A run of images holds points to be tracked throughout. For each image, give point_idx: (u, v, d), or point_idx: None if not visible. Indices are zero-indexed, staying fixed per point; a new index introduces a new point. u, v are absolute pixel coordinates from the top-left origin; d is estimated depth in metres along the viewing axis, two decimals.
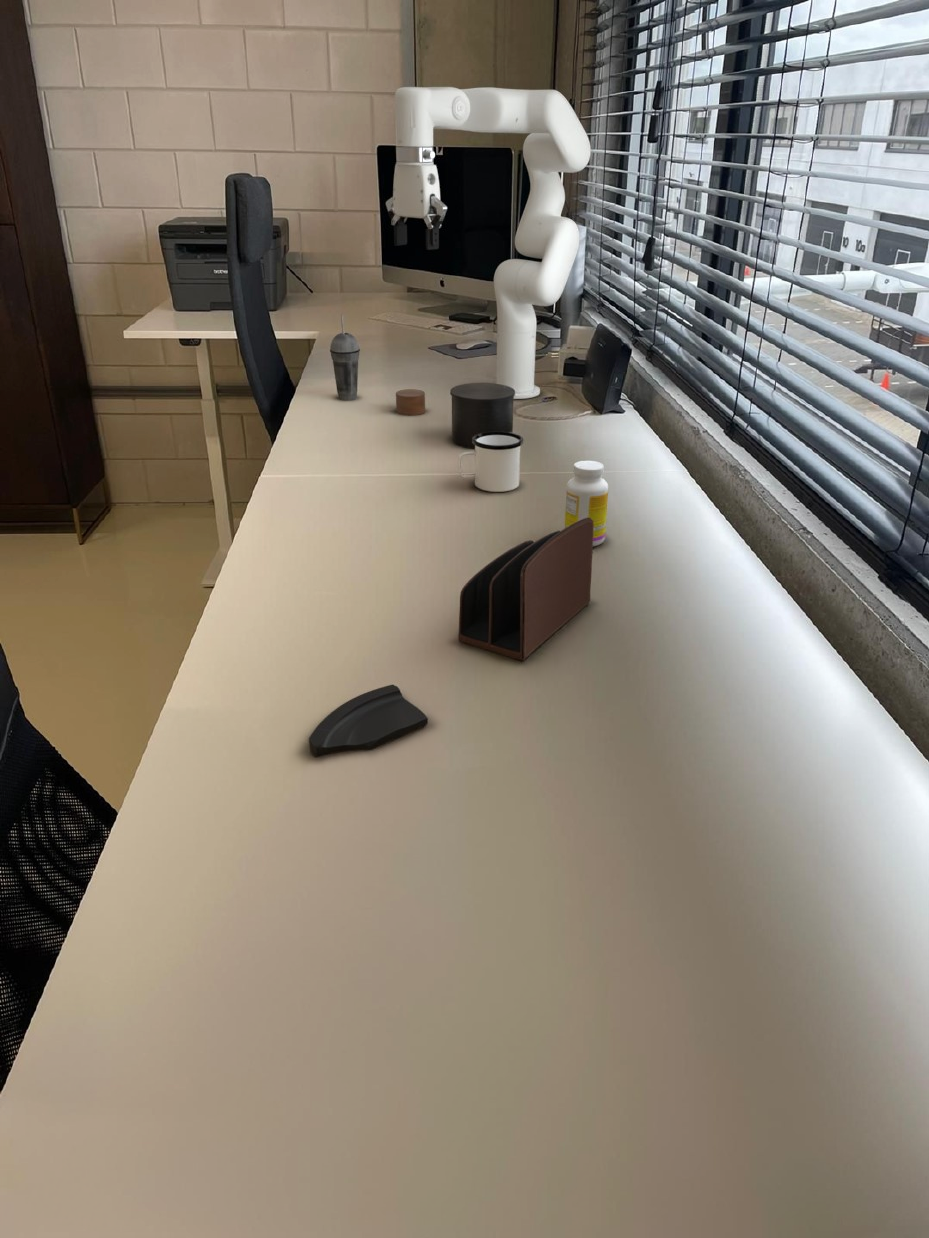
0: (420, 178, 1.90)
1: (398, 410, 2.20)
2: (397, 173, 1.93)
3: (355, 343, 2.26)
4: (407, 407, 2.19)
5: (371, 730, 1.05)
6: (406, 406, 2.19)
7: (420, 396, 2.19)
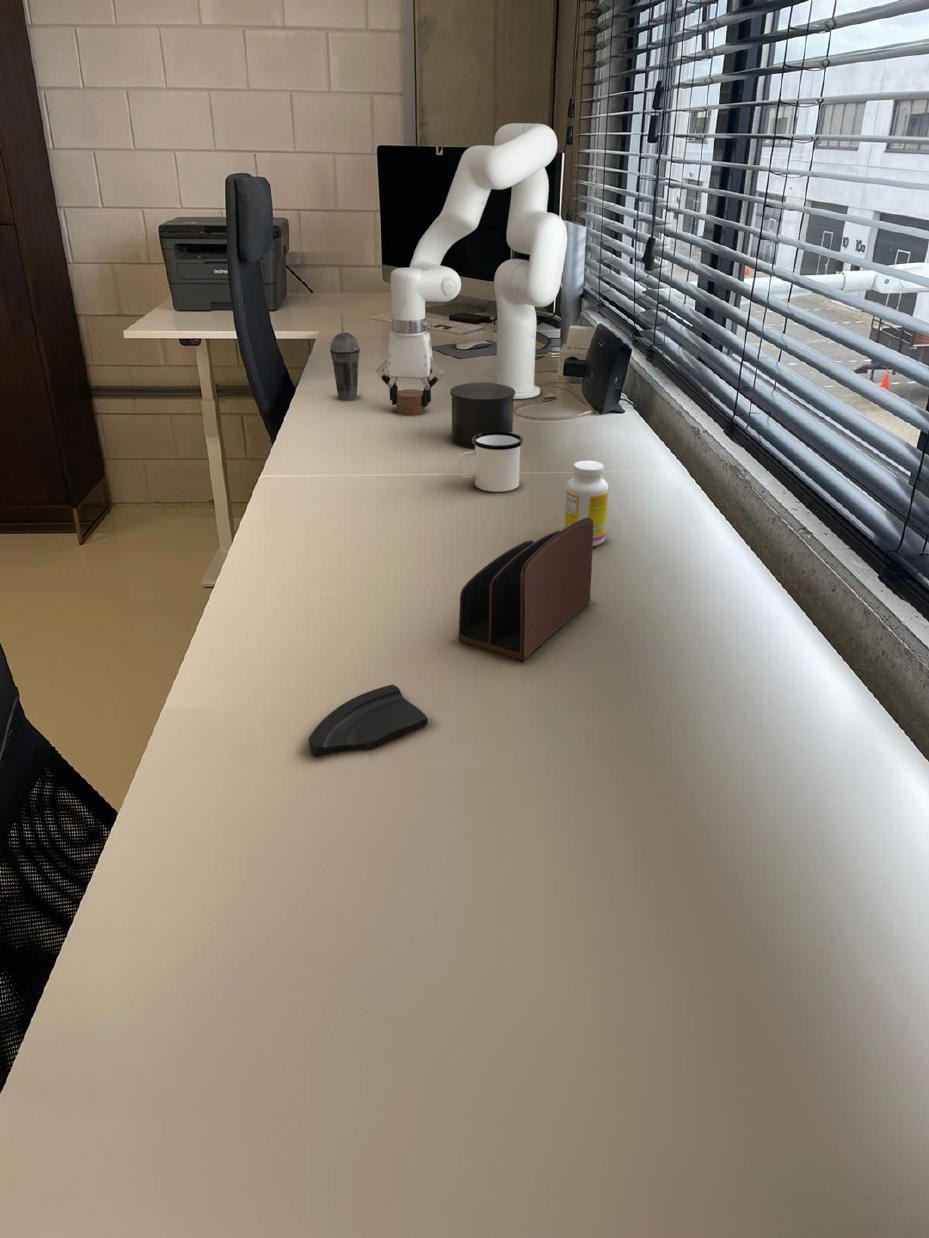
0: (424, 346, 2.13)
1: (398, 410, 2.20)
2: (394, 341, 2.13)
3: (355, 343, 2.25)
4: (406, 407, 2.19)
5: (371, 730, 1.05)
6: (406, 406, 2.19)
7: (420, 396, 2.19)
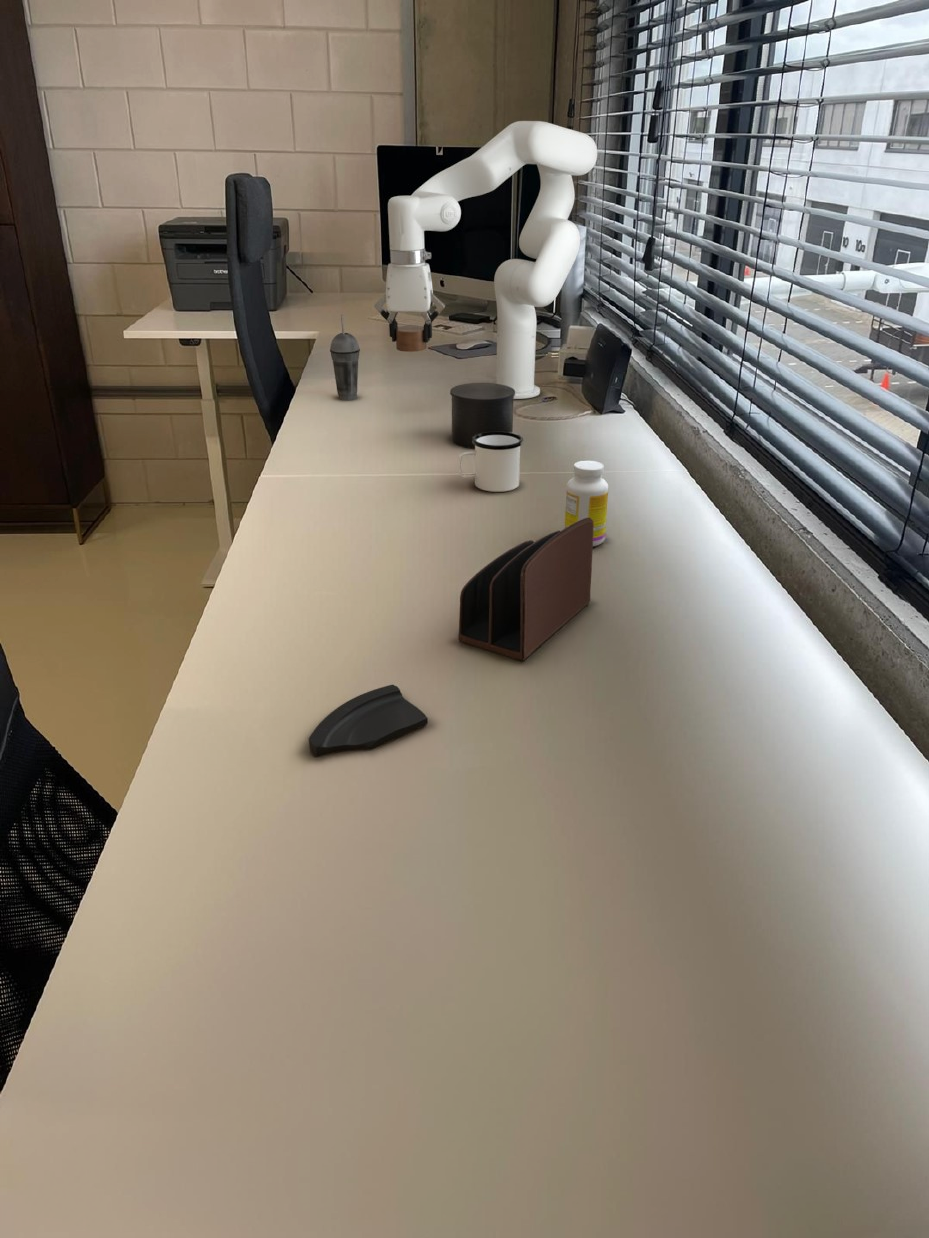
0: (423, 277, 2.06)
1: (398, 347, 2.14)
2: (392, 273, 2.07)
3: (355, 343, 2.25)
4: (407, 343, 2.12)
5: (371, 729, 1.05)
6: (406, 342, 2.12)
7: (421, 331, 2.12)
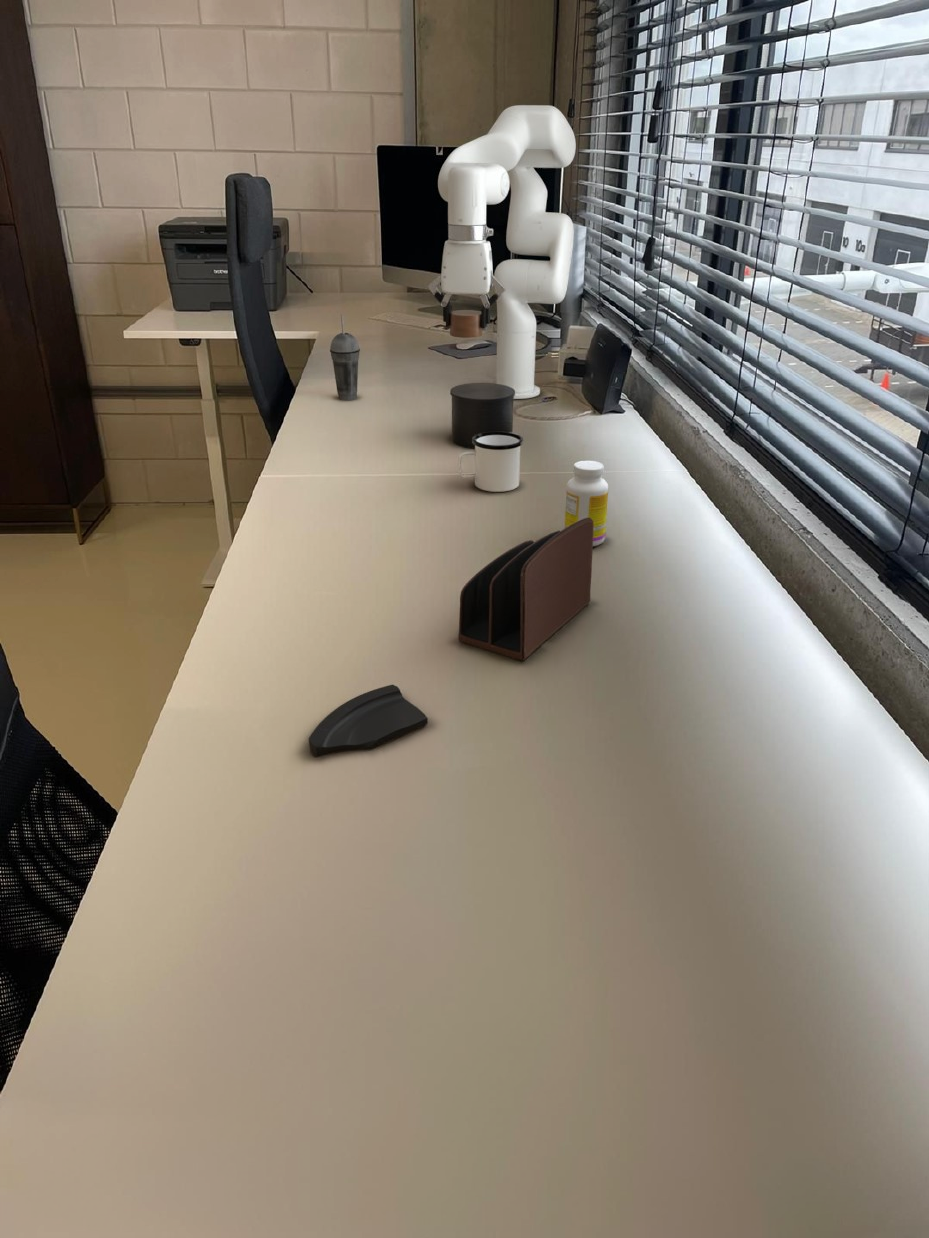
0: (484, 256, 1.87)
1: (452, 332, 1.95)
2: (450, 251, 1.88)
3: (355, 343, 2.25)
4: (462, 328, 1.93)
5: (370, 729, 1.05)
6: (462, 327, 1.93)
7: (478, 316, 1.93)
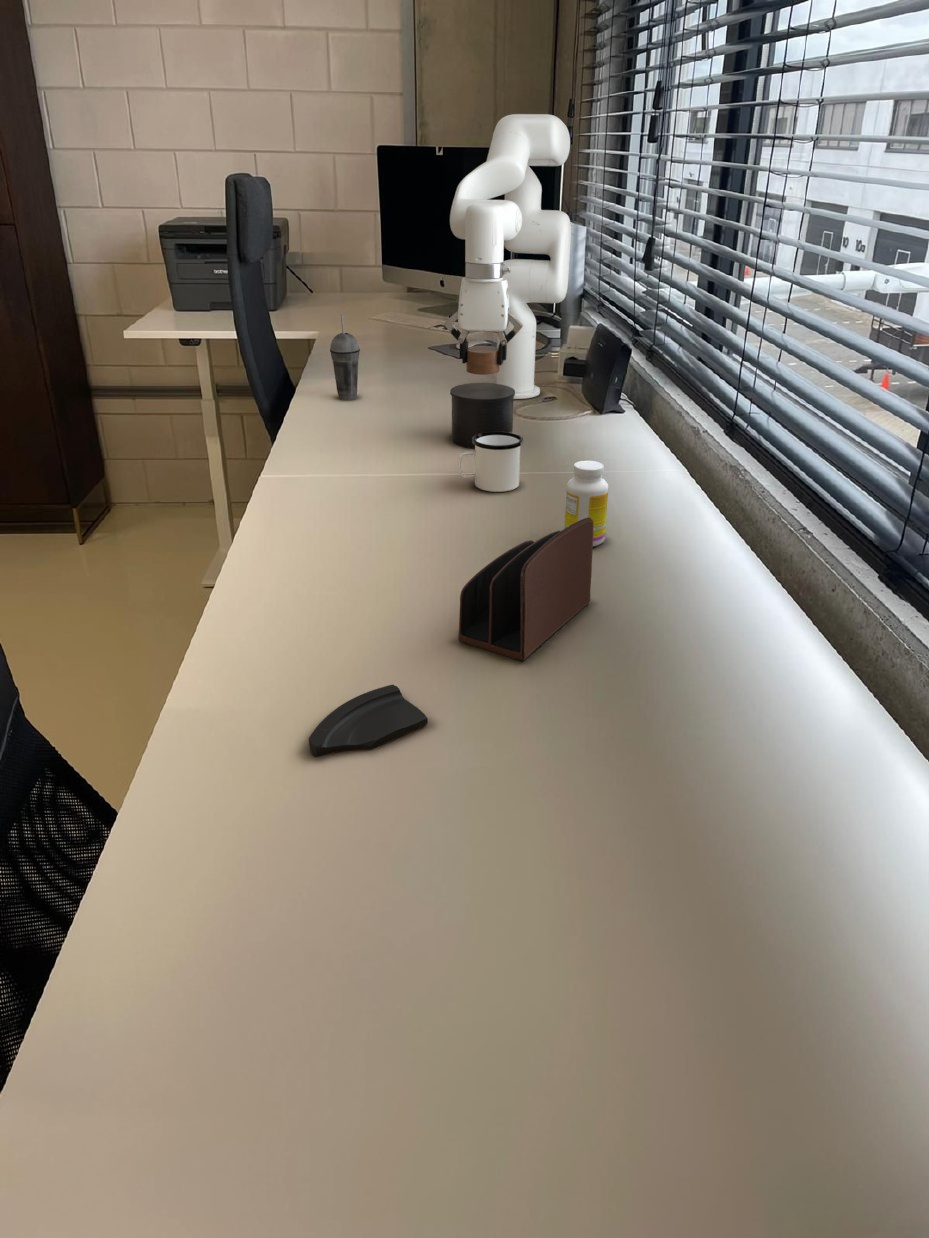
0: (501, 294, 1.86)
1: (469, 369, 1.94)
2: (467, 288, 1.87)
3: (355, 343, 2.25)
4: (479, 365, 1.92)
5: (370, 730, 1.05)
6: (479, 364, 1.92)
7: (495, 352, 1.92)
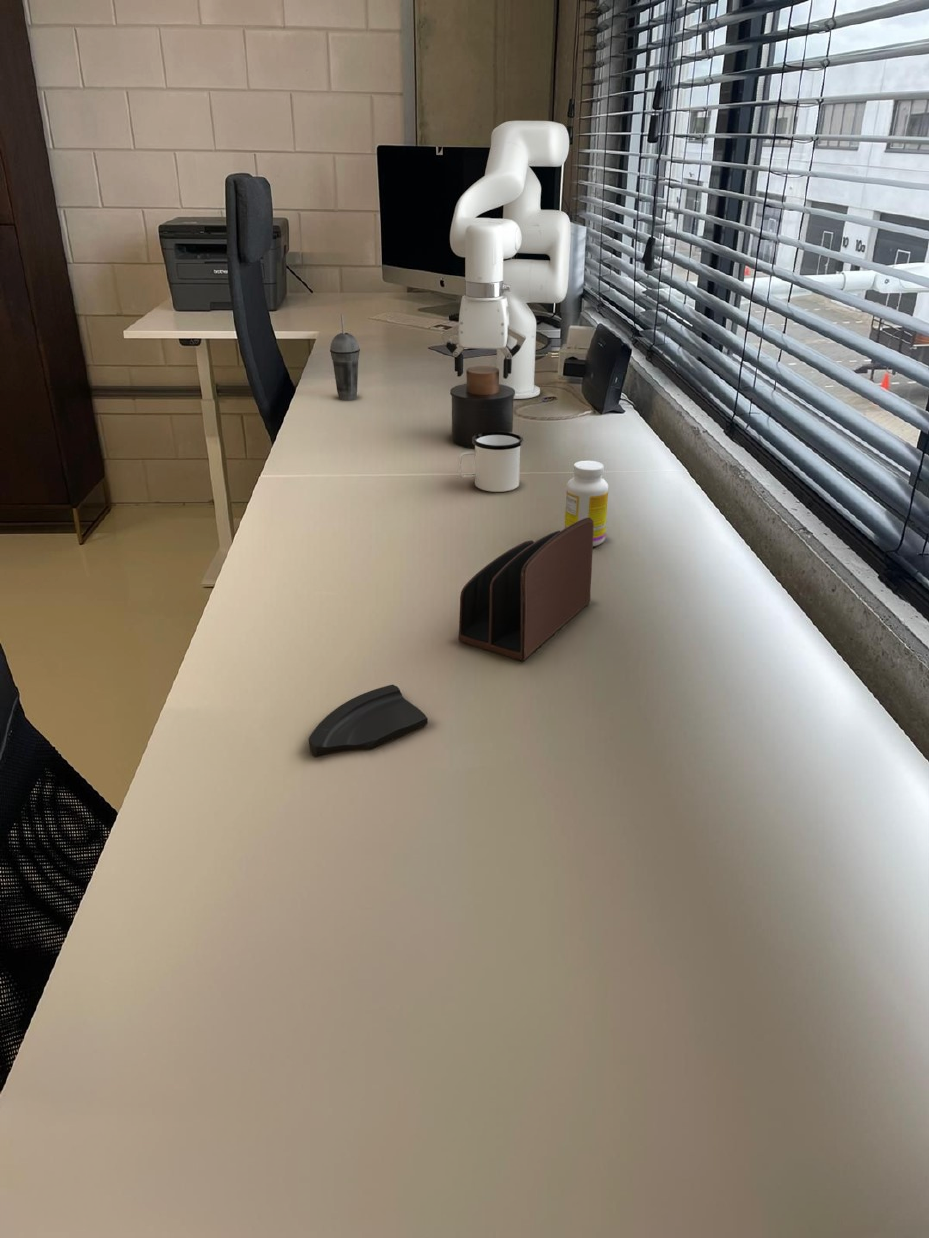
0: (501, 312, 1.88)
1: (469, 389, 1.96)
2: (467, 307, 1.88)
3: (355, 343, 2.25)
4: (479, 386, 1.94)
5: (370, 729, 1.05)
6: (479, 384, 1.94)
7: (495, 373, 1.94)
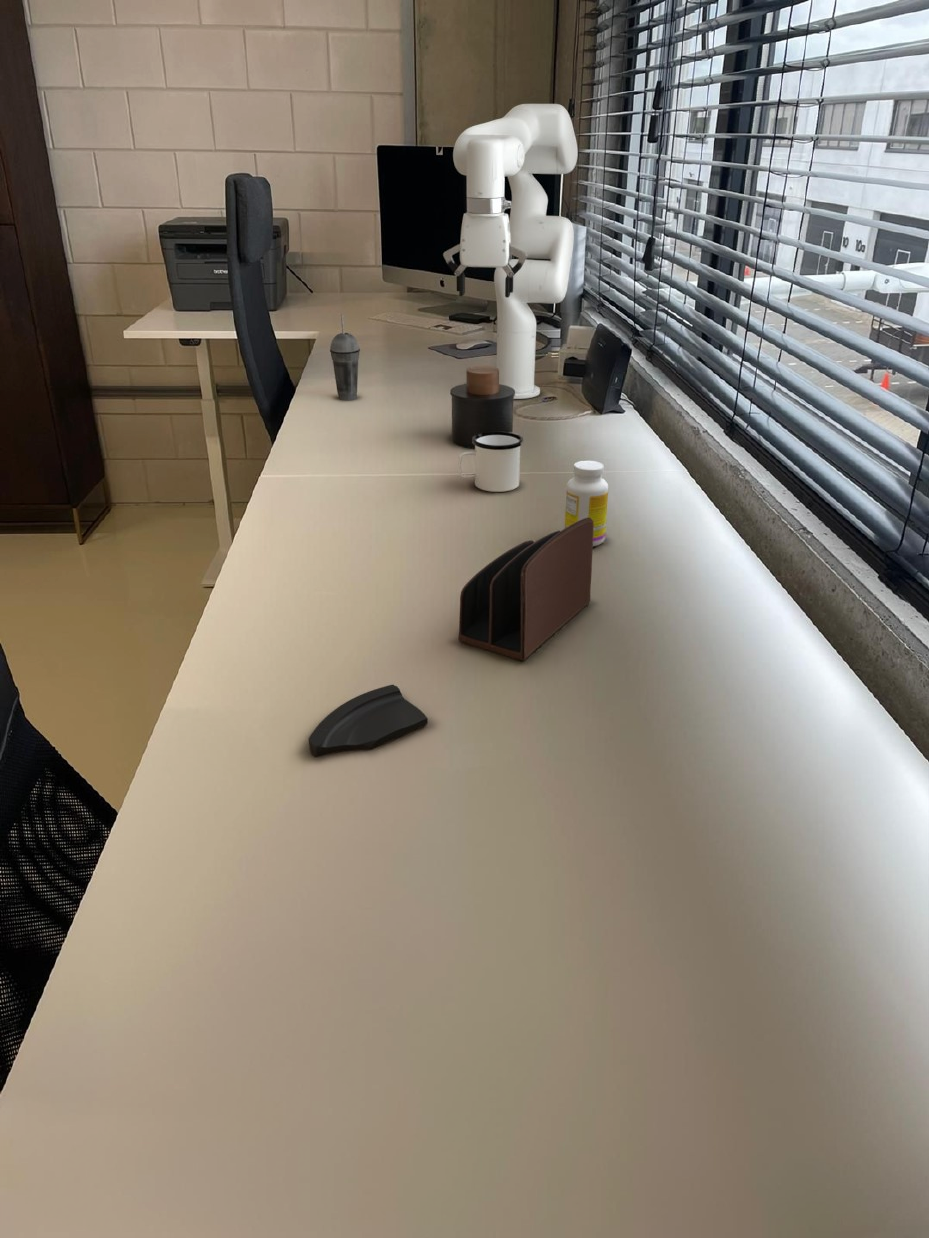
0: (503, 228, 1.89)
1: (469, 389, 1.96)
2: (469, 224, 1.89)
3: (355, 343, 2.25)
4: (479, 386, 1.94)
5: (370, 730, 1.05)
6: (479, 384, 1.94)
7: (495, 373, 1.94)
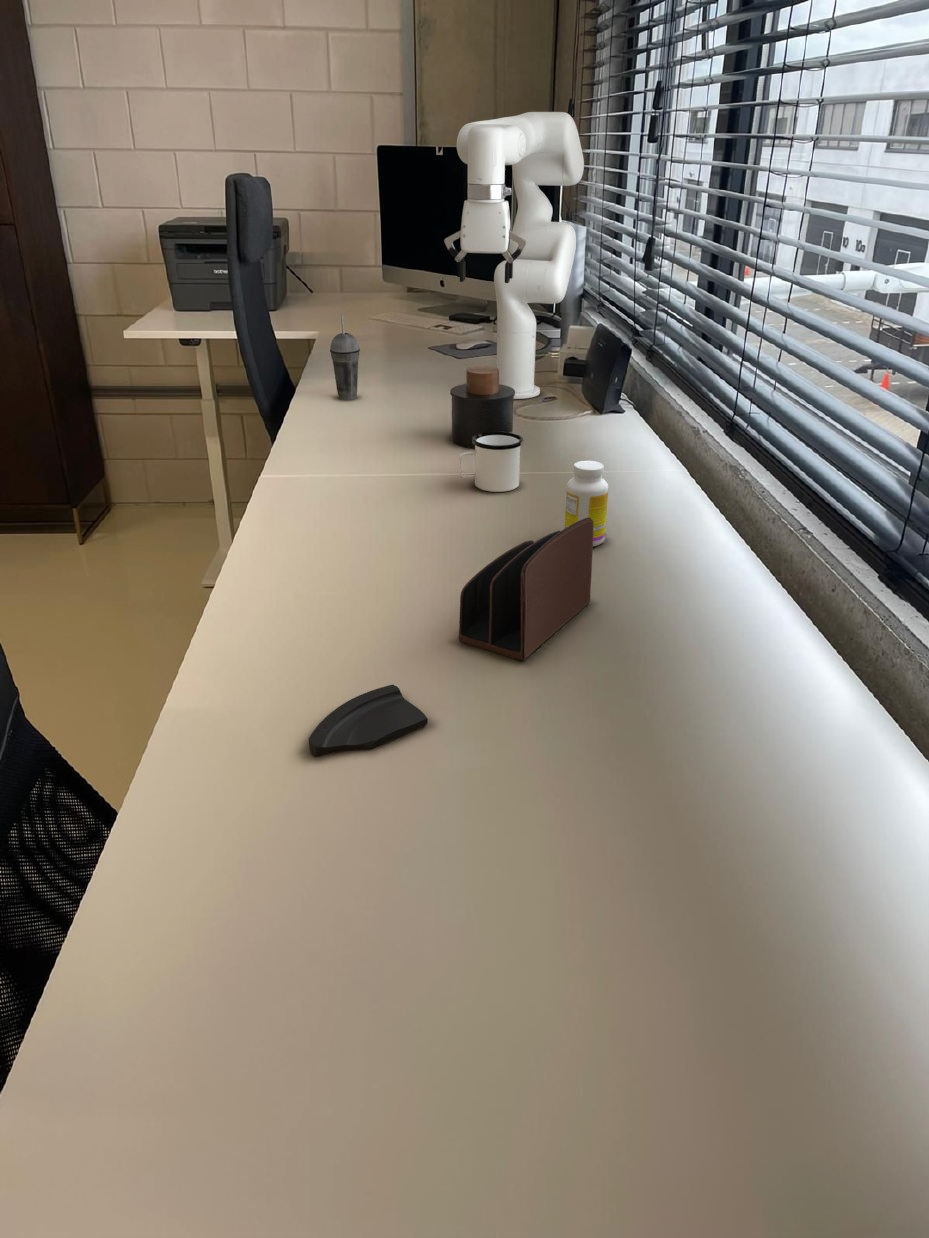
0: (503, 215, 1.93)
1: (469, 389, 1.96)
2: (469, 210, 1.93)
3: (355, 343, 2.25)
4: (479, 386, 1.94)
5: (370, 730, 1.05)
6: (479, 384, 1.94)
7: (495, 373, 1.94)
